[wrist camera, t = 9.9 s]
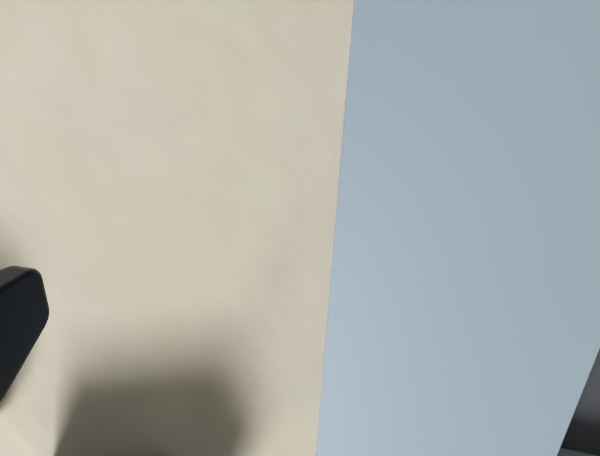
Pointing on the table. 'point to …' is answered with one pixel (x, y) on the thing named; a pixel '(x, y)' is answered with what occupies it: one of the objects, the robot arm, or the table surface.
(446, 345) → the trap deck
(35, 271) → the robot arm
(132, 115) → the table surface
